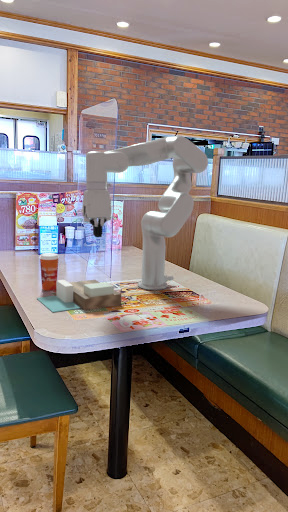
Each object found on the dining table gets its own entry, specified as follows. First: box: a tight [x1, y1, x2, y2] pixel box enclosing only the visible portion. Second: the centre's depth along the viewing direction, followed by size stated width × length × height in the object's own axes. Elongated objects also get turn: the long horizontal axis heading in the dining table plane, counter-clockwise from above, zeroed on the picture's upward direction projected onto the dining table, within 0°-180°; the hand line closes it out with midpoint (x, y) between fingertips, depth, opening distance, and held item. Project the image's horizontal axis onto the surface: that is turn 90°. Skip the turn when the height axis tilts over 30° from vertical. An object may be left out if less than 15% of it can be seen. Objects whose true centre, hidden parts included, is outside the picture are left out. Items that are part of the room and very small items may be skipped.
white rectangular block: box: [55, 279, 73, 303], centre depth 147 cm, size 6×9×3 cm
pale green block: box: [84, 281, 115, 297], centre depth 143 cm, size 6×9×3 cm, turn 122°
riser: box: [69, 279, 122, 311], centre depth 150 cm, size 14×22×4 cm, turn 32°
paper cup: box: [38, 252, 60, 292], centre depth 160 cm, size 8×8×14 cm
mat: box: [36, 294, 82, 313], centre depth 143 cm, size 10×17×1 cm, turn 32°
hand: (97, 236), depth 150 cm, fingers closed
